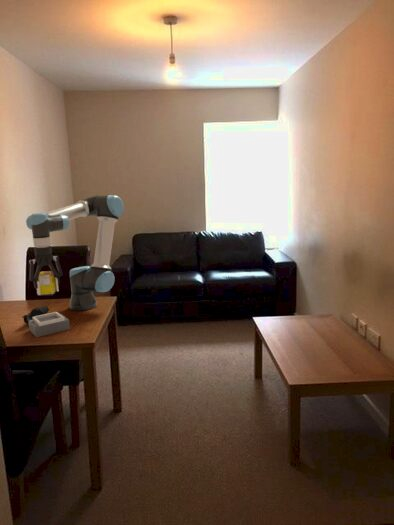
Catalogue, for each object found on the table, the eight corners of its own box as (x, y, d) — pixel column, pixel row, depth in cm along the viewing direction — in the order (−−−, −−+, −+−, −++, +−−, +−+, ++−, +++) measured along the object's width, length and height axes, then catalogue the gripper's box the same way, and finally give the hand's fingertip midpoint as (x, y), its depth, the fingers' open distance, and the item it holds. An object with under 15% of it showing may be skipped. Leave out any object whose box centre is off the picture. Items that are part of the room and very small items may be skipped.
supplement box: (56, 292, 208) (53, 270, 206) (53, 295, 202) (50, 273, 200) (43, 292, 207) (41, 271, 205) (40, 296, 202) (37, 274, 199)
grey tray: (61, 323, 218) (60, 310, 217) (69, 329, 208) (68, 316, 207) (29, 330, 209) (28, 317, 208) (36, 337, 199) (34, 324, 198)
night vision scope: (46, 320, 231) (57, 309, 228) (27, 332, 214) (39, 321, 211) (36, 309, 231) (47, 298, 228) (16, 320, 214) (28, 309, 211)
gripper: (61, 242, 209) (66, 287, 214) (17, 248, 197) (23, 295, 201) (67, 244, 203) (71, 289, 208) (21, 250, 191) (28, 298, 196)
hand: (48, 292), depth 205 cm, fingers closed on supplement box, 8 cm apart
